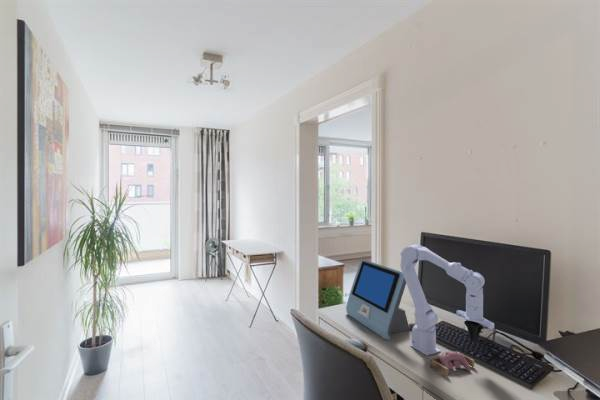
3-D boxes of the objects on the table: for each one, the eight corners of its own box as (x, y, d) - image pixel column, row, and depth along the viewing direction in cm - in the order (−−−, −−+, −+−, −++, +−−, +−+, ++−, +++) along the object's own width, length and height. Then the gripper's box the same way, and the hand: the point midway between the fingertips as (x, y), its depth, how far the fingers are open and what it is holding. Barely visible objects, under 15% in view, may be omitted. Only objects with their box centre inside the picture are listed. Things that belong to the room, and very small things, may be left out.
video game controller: (464, 370, 120) (459, 350, 123) (472, 371, 116) (466, 350, 119) (441, 373, 119) (436, 352, 122) (448, 373, 114) (442, 352, 117)
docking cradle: (430, 367, 120) (430, 359, 120) (457, 358, 126) (457, 351, 126) (446, 377, 113) (446, 368, 113) (474, 367, 119) (474, 360, 119)
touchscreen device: (343, 314, 173) (344, 259, 173) (373, 310, 180) (374, 258, 180) (383, 341, 141) (385, 274, 141) (417, 335, 148) (419, 271, 148)
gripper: (450, 300, 126) (450, 334, 126) (485, 313, 113) (484, 351, 113) (463, 298, 129) (463, 331, 129) (498, 310, 116) (497, 347, 116)
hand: (474, 340), depth 121 cm, fingers closed
